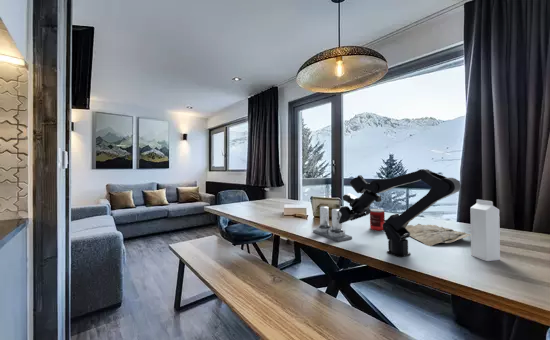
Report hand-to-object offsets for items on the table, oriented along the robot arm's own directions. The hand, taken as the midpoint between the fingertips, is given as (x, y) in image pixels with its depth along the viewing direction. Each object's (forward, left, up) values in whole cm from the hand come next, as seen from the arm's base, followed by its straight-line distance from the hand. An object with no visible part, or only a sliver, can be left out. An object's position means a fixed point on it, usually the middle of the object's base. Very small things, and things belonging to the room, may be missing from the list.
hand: (345, 221), depth 116 cm
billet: (+5, +1, -8) cm, 9 cm away
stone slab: (-18, -41, -10) cm, 46 cm away
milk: (-44, -29, -9) cm, 53 cm away
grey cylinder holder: (+9, +1, -9) cm, 13 cm away
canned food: (+5, -29, -9) cm, 31 cm away
